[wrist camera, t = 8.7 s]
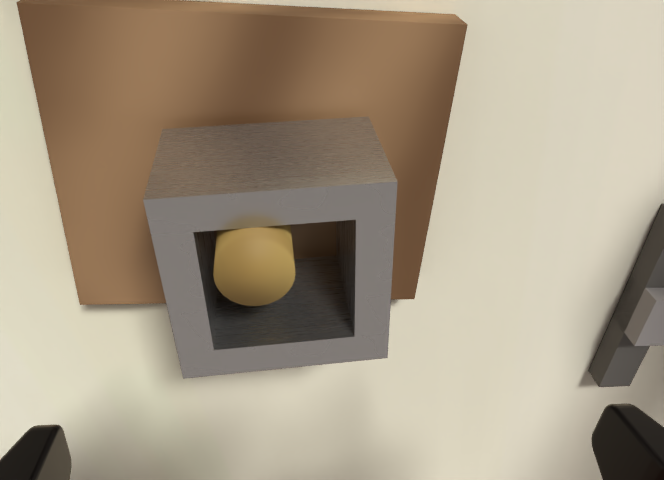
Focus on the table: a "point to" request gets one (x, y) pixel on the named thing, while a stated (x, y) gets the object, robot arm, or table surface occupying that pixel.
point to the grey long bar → (635, 316)
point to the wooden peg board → (228, 121)
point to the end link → (274, 210)
